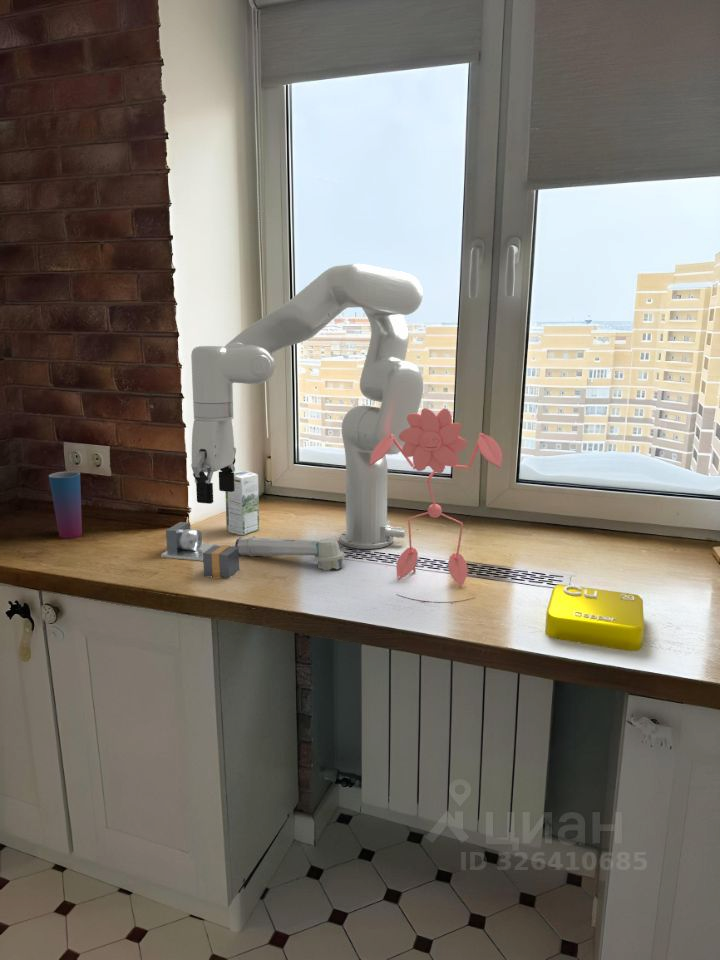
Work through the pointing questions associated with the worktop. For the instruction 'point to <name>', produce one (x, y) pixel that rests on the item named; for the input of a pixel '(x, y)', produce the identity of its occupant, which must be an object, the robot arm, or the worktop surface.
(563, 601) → the element tile
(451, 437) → the pink flower doll
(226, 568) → the coupling block
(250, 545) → the grey connecting link
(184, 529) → the shaft mount
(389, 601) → the worktop surface
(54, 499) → the cup
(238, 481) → the syrup box
